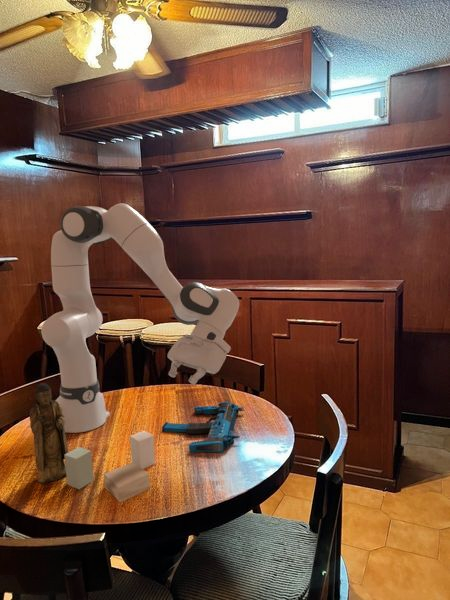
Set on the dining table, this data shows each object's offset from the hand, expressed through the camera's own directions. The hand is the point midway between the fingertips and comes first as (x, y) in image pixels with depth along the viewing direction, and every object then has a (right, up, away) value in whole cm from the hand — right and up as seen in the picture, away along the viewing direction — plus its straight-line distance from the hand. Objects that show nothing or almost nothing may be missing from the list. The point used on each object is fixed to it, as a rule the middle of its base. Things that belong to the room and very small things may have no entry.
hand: (181, 379), depth 121 cm
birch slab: (-11, -24, -16) cm, 31 cm away
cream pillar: (-10, -22, -5) cm, 24 cm away
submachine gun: (+6, -19, +17) cm, 26 cm away
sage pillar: (-24, -24, -12) cm, 36 cm away
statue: (-32, -24, -10) cm, 41 cm away
